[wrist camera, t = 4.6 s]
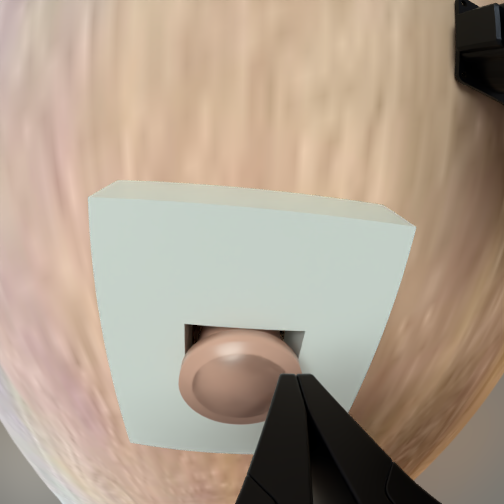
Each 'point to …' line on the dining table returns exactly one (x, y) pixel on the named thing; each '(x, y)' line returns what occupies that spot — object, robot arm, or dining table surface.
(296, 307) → the button box
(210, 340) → the button
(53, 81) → the dining table surface
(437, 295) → the dining table surface
